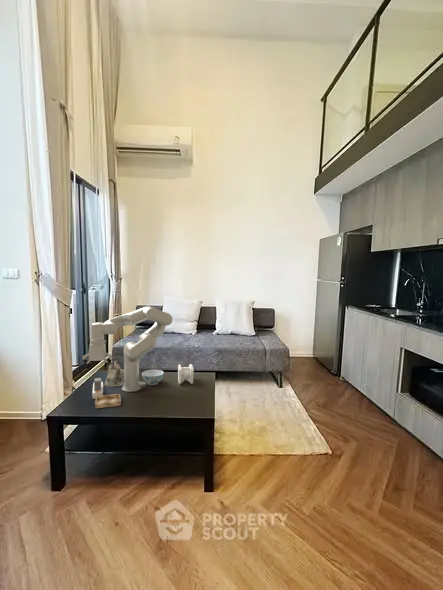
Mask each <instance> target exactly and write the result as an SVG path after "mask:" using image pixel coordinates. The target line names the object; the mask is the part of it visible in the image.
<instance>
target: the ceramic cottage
mask: <svg viewBox="0 0 443 590" xmlns="http://www.w3.org/2000/svg"><path fill="white" fill-rule="evenodd" d="M113 364H114V365H113V367H112V366H111V365H109V366H108V370H107V376H106V379H105V381H104V386H105V387H108V386H109V388H110V387H114V386H115V387H121V386H124V368H123V369H122V367H121V366H120V364H119V363H118V361H117V360H115V361H114V363H113Z"/></svg>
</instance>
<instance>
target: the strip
mask: <svg viewBox="0 0 443 590" xmlns="http://www.w3.org/2000/svg"><path fill="white" fill-rule="evenodd" d="M103 395H104V382H103V381H101V390H98V391H94V382H93V384H92V395H91V396H92V399H93V400H94V399H95V400H96V396H103Z"/></svg>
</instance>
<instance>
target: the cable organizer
mask: <svg viewBox="0 0 443 590" xmlns="http://www.w3.org/2000/svg"><path fill="white" fill-rule="evenodd" d="M181 365H182V364H178V366H177V380H178V385H181V384H182V383H184V382H185V381H187V382H189V383H190V385H192V384H194V372H195V369H194V366H193V364H192V363H190V364H189V365H188V366H181Z"/></svg>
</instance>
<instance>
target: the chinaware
mask: <svg viewBox="0 0 443 590" xmlns="http://www.w3.org/2000/svg"><path fill="white" fill-rule="evenodd" d="M164 374H165V372H164V371H163V370H160V369H149V370H144V371H143V372H141V375H142V378H143V381H144V382H146V384H147V385H150V386H155V385H158V383H159V382H160V381H161V380H162V379H163V377H164Z"/></svg>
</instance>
